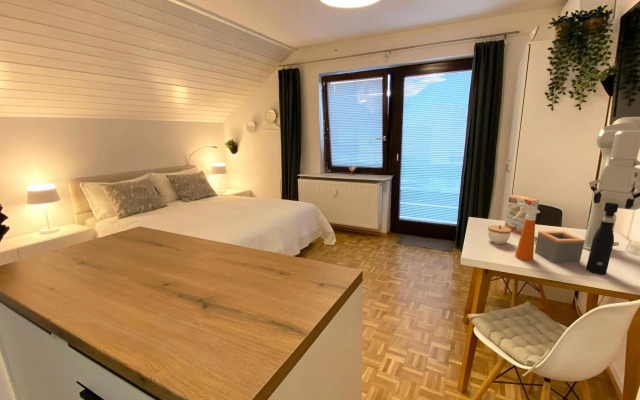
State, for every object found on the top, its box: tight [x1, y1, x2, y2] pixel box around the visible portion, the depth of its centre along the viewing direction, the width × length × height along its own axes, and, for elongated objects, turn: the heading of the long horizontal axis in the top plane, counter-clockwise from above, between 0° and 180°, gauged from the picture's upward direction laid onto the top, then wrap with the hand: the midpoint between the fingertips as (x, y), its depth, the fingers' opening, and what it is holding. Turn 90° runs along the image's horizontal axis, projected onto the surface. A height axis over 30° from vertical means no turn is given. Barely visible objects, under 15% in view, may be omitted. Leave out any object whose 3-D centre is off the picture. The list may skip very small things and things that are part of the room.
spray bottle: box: [513, 203, 541, 261], centre depth 138 cm, size 7×11×26 cm, turn 77°
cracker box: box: [504, 194, 540, 235], centre depth 172 cm, size 14×6×21 cm, turn 17°
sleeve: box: [534, 230, 585, 264], centre depth 139 cm, size 12×12×11 cm
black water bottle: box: [585, 203, 619, 276], centre depth 124 cm, size 6×6×30 cm
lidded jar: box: [487, 224, 512, 245], centre depth 159 cm, size 11×11×9 cm
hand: (611, 205), depth 120 cm, fingers open, 9 cm apart
